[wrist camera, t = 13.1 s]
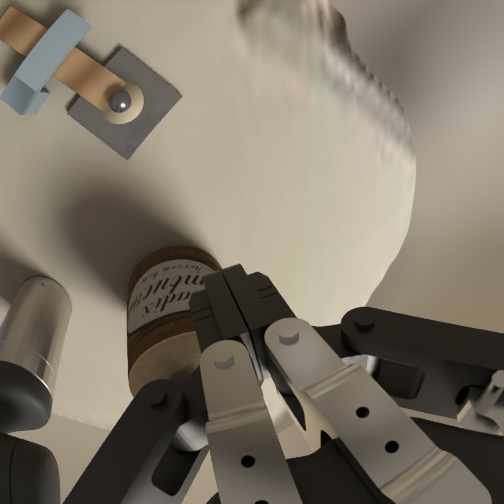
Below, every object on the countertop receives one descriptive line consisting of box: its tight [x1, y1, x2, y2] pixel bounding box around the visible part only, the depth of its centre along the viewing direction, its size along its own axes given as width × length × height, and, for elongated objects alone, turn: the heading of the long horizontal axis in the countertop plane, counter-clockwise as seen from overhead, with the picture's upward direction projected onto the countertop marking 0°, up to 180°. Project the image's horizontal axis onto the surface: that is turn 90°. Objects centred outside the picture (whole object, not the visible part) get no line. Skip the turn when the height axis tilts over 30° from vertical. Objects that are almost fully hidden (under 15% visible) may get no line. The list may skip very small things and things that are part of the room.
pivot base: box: [67, 47, 182, 161], centre depth 29 cm, size 10×10×5 cm
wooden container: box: [127, 246, 264, 397], centre depth 35 cm, size 15×15×22 cm
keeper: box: [0, 9, 92, 115], centre depth 23 cm, size 12×4×5 cm, turn 135°
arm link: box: [0, 6, 144, 124], centre depth 24 cm, size 24×5×2 cm, turn 47°
